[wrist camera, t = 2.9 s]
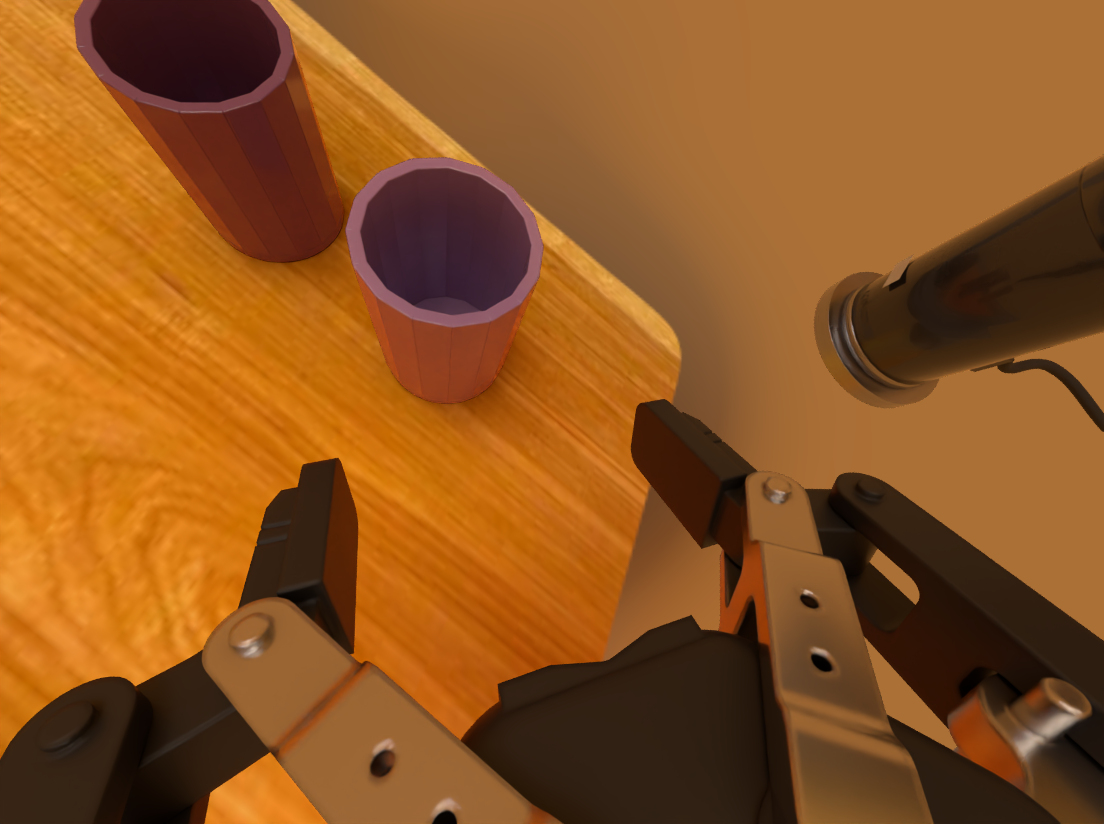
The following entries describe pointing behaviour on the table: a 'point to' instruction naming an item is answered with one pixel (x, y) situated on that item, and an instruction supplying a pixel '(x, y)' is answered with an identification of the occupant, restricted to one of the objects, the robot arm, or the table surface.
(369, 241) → the lilac cup
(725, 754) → the robot arm
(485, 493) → the table surface
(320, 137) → the plum cup
